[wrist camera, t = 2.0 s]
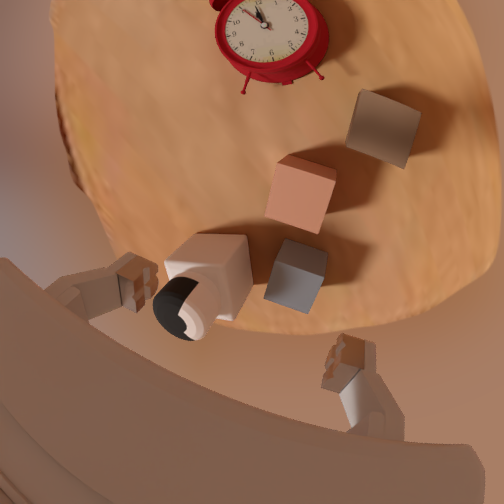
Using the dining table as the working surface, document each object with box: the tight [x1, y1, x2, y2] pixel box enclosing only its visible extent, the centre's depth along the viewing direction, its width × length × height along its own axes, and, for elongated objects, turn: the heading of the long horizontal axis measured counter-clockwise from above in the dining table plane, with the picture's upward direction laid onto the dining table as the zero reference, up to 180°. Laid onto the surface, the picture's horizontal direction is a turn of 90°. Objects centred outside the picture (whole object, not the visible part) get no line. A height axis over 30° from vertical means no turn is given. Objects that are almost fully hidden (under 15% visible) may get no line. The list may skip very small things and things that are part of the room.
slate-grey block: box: [264, 238, 328, 314], centre depth 29 cm, size 5×5×5 cm
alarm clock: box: [209, 0, 329, 94], centre depth 17 cm, size 10×6×15 cm
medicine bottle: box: [153, 234, 253, 341], centre depth 29 cm, size 7×7×12 cm
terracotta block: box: [264, 155, 337, 234], centre depth 25 cm, size 5×5×5 cm
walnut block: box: [345, 89, 422, 169], centre depth 19 cm, size 5×5×5 cm
